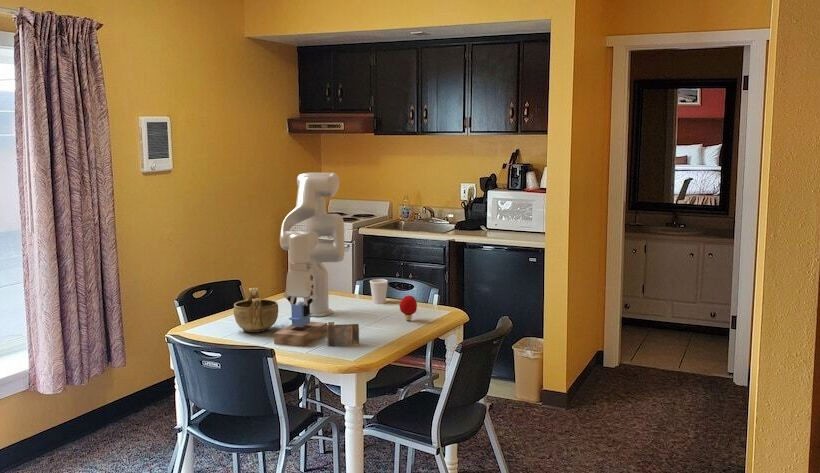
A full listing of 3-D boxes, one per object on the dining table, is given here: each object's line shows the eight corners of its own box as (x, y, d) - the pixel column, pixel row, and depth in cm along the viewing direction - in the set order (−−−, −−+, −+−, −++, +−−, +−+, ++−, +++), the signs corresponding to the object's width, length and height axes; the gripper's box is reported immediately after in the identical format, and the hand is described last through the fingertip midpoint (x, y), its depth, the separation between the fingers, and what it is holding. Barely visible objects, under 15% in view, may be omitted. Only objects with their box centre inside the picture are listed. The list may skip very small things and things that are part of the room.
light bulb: (414, 324, 315) (414, 299, 314) (397, 323, 317) (397, 298, 315) (419, 318, 324) (418, 294, 323) (402, 317, 326) (402, 294, 325)
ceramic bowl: (233, 325, 315) (231, 288, 313) (276, 322, 320) (275, 286, 318) (235, 339, 294) (234, 300, 292) (281, 336, 298) (280, 297, 296)
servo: (303, 320, 300) (302, 298, 299) (312, 321, 298) (312, 299, 297) (289, 327, 289) (288, 304, 288) (299, 328, 288) (298, 305, 287)
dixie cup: (371, 300, 359) (371, 278, 358) (389, 300, 358) (389, 279, 357) (368, 304, 351) (367, 282, 350) (386, 304, 350) (386, 282, 349)
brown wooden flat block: (274, 343, 287) (273, 333, 287) (299, 330, 306) (299, 320, 306) (303, 346, 283) (303, 335, 283) (327, 333, 302) (327, 322, 302)
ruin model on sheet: (327, 347, 284) (327, 321, 282) (327, 345, 287) (327, 319, 285) (359, 346, 285) (359, 320, 284) (358, 344, 288) (358, 318, 287)
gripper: (324, 266, 292) (325, 314, 294) (284, 264, 297) (285, 311, 300) (315, 269, 285) (316, 319, 287) (274, 267, 290) (276, 315, 293)
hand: (300, 314), depth 293 cm, fingers closed on servo, 4 cm apart
